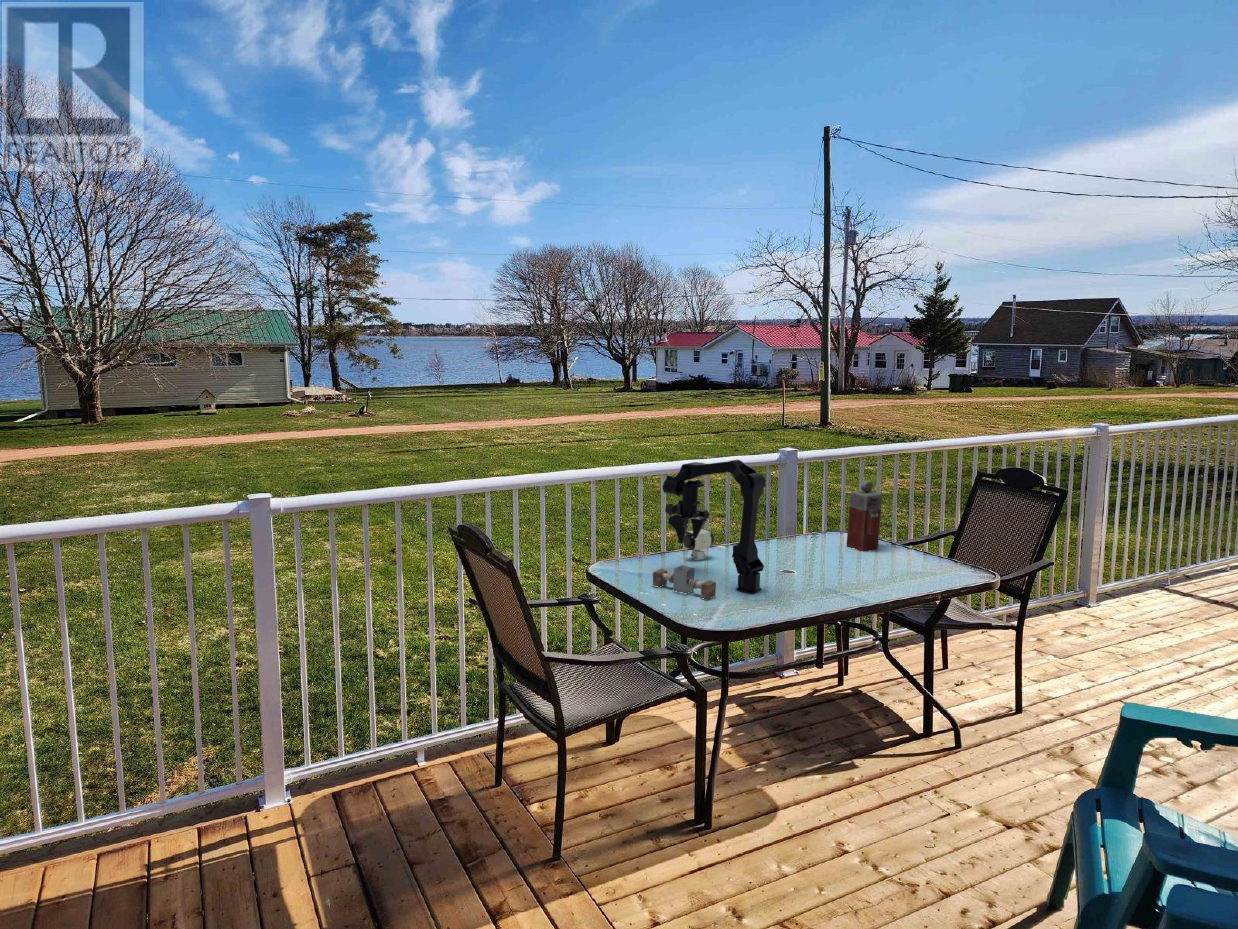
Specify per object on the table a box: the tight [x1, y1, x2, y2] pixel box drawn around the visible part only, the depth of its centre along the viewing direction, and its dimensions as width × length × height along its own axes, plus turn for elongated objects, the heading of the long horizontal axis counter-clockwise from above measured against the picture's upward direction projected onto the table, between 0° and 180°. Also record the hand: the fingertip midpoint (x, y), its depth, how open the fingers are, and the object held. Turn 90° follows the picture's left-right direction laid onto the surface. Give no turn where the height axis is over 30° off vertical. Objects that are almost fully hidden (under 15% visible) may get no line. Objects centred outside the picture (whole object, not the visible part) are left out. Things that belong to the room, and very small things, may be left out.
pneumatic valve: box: [682, 528, 715, 561], centre depth 294 cm, size 6×12×12 cm, turn 122°
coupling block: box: [672, 564, 695, 593], centre depth 256 cm, size 6×5×8 cm
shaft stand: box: [652, 568, 717, 600], centre depth 256 cm, size 22×5×5 cm, turn 53°
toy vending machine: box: [846, 480, 883, 552], centre depth 314 cm, size 9×11×28 cm
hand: (688, 540), depth 275 cm, fingers open, 9 cm apart
